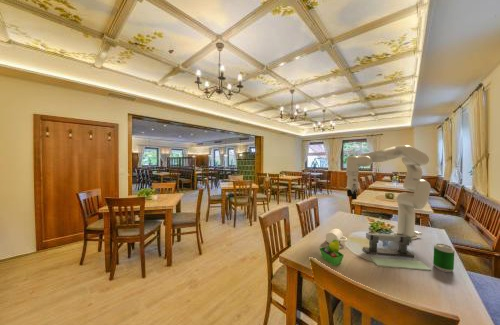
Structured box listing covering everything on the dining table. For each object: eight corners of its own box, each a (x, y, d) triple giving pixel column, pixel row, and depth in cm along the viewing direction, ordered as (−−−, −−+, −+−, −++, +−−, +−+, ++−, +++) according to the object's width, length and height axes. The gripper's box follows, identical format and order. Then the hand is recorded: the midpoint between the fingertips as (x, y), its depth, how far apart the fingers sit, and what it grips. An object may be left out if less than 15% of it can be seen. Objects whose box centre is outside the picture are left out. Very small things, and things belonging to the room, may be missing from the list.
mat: (420, 262, 108) (420, 261, 108) (431, 270, 100) (431, 269, 100) (370, 258, 112) (370, 257, 112) (377, 266, 104) (377, 265, 104)
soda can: (455, 274, 97) (457, 251, 96) (435, 270, 101) (436, 247, 100) (450, 267, 103) (451, 245, 103) (431, 263, 107) (432, 241, 107)
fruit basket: (318, 256, 114) (318, 237, 113) (330, 254, 117) (331, 235, 116) (333, 267, 103) (333, 246, 102) (346, 264, 106) (346, 243, 105)
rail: (407, 240, 117) (407, 235, 117) (410, 242, 114) (411, 237, 114) (366, 237, 121) (366, 232, 121) (368, 239, 118) (368, 234, 118)
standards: (407, 252, 119) (407, 234, 119) (414, 257, 113) (415, 238, 112) (362, 248, 123) (363, 231, 123) (367, 253, 117) (367, 235, 116)
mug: (325, 242, 131) (325, 231, 131) (331, 238, 139) (331, 227, 138) (344, 248, 123) (344, 236, 123) (349, 243, 131) (349, 231, 130)
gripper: (362, 175, 130) (362, 200, 130) (354, 172, 147) (353, 195, 147) (350, 174, 131) (349, 200, 132) (343, 172, 148) (342, 194, 149)
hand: (351, 197), depth 140 cm, fingers open, 9 cm apart
